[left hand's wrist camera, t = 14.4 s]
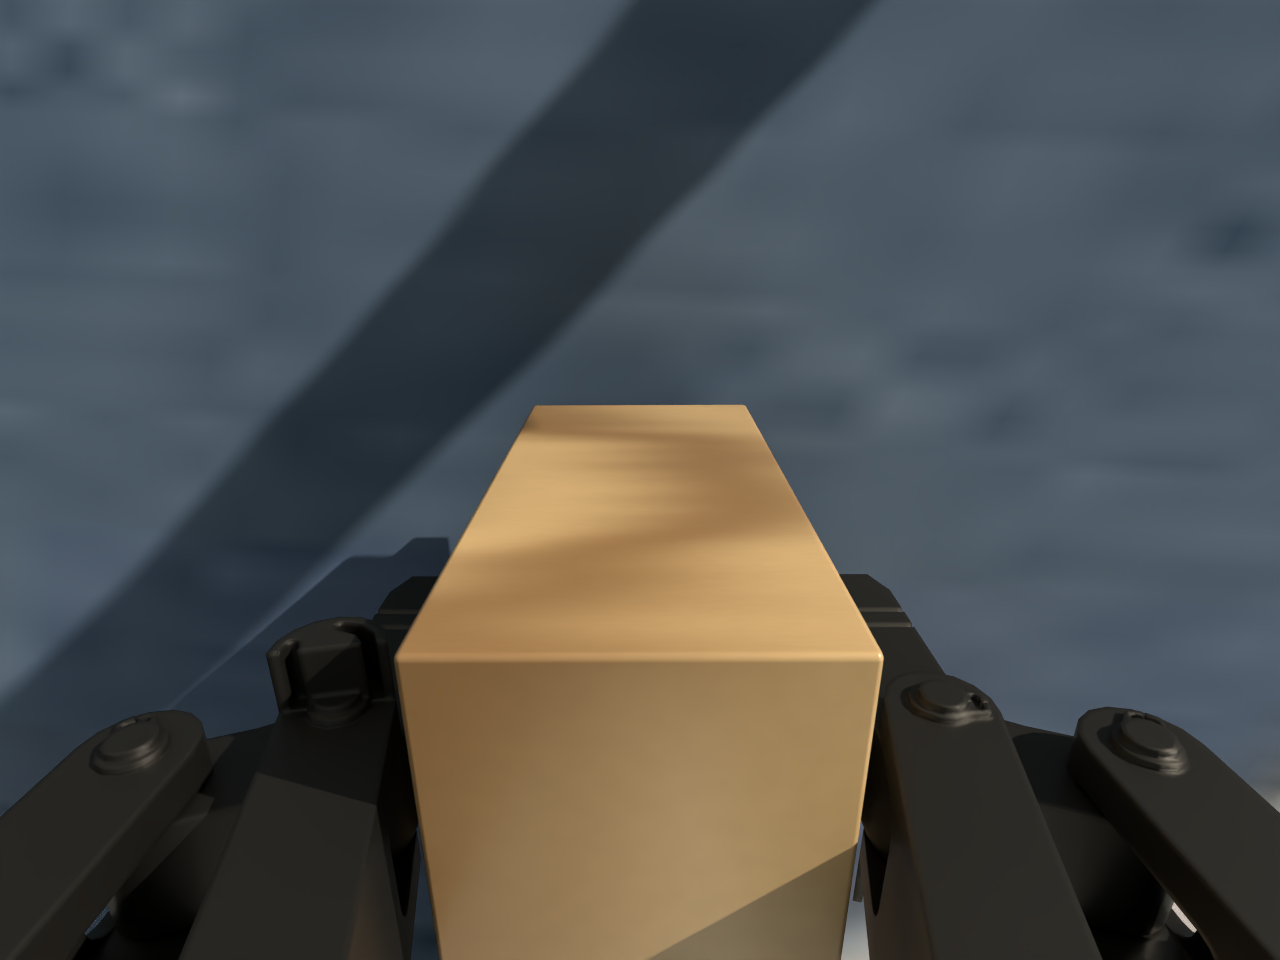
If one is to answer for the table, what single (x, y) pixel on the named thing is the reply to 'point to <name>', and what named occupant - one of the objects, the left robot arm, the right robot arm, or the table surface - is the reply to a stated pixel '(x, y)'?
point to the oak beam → (639, 702)
